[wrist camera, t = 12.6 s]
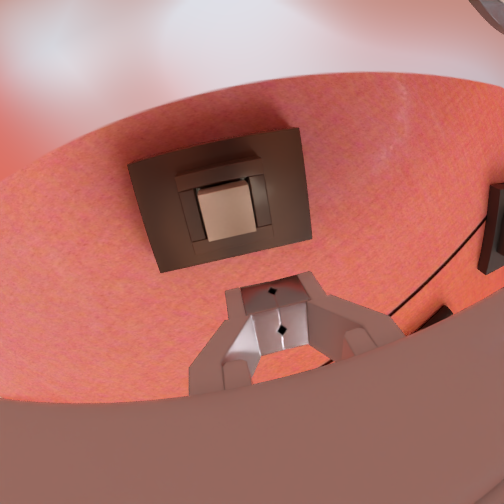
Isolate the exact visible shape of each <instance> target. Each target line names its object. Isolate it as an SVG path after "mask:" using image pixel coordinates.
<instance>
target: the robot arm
mask: <svg viewBox="0 0 504 504" xmlns="http://www.w3.org/2000/svg"><path fill="white" fill-rule="evenodd" d="M499 1H501V2H502V3H504V0H499ZM240 290H241V291H240ZM241 294H242V295H241ZM225 297H226V304H227V311H228V318H229V320H225V321H224V322H223V323H222V325H221V326H220V327H219V329H218V330H217V331H216V333H215V334H214V335H213V336H212V338H211V339H210V340H209V342H208V343H207V344H206V346H205V347H204V348H203V350H202V351H201V352H200V354H199V355H198V356H197V358H196V359H195V360H194V362H193V363H192V364H191V365H190V367H189V396H184V397H176V398H167V399H158V400H147V401H135V402H119V403H47V402H32V401H20V400H11V399H3V398H0V504H504V287H503V288H501V289H499V290H498V291H496V292H494V293H493V294H491V295H489V296H487V297H486V298H484V299H482V300H480V301H478V302H477V303H475V304H473V305H471V306H469V307H467V308H465V309H463V310H462V311H460V312H458V313H456V314H454V315H452V316H450V317H448V318H446V319H444V320H442V321H440V322H437V323H435V324H433V325H431V326H429V327H427V328H424V329H422V330H420V331H418V332H415V333H413V334H411V335H408V336H405V335H404V333H403V332H402V331H401V330H400V328H399V327H398V326H397V325H396V323H395V322H394V321H393V320H392V319H391V317H390V316H388V315H385V314H382V313H380V312H377V311H374V310H371V309H369V308H366V307H363V306H360V305H358V304H355V303H352V302H350V301H347V300H344V299H341V298H339V297H336V296H333V295H328V296H327V295H326V293H325V292H324V290H323V289H322V287H321V286H320V284H319V283H318V281H317V280H316V278H315V277H314V275H313V274H312V272H310V271H308V272H304V273H301V274H297V275H294V276H290V277H286V278H283V279H279V280H275V281H271V282H264V283H260V284H255V285H250V286H245V287H240V288H235V289H231V290H226V291H225ZM243 303H244V304H243ZM306 344H309V345H311V346H312V347H314V348H315V349H317V350H318V351H320V352H321V353H323V354H324V355H326V356H327V357H329V358H330V359H332V360H333V361H335V363H332V364H329V365H325V366H322V367H319V368H315V369H312V370H308V371H305V372H301V373H298V374H294V375H290V376H286V377H282V378H278V379H274V380H270V381H266V382H262V383H257V384H253V381H252V376H253V374H254V372H255V369H256V367H257V365H258V362H259V360H260V358H261V357H260V356H263V355H267V354H270V353H274V352H278V351H281V350H285V349H290V348H294V347H298V346H302V345H306Z"/></svg>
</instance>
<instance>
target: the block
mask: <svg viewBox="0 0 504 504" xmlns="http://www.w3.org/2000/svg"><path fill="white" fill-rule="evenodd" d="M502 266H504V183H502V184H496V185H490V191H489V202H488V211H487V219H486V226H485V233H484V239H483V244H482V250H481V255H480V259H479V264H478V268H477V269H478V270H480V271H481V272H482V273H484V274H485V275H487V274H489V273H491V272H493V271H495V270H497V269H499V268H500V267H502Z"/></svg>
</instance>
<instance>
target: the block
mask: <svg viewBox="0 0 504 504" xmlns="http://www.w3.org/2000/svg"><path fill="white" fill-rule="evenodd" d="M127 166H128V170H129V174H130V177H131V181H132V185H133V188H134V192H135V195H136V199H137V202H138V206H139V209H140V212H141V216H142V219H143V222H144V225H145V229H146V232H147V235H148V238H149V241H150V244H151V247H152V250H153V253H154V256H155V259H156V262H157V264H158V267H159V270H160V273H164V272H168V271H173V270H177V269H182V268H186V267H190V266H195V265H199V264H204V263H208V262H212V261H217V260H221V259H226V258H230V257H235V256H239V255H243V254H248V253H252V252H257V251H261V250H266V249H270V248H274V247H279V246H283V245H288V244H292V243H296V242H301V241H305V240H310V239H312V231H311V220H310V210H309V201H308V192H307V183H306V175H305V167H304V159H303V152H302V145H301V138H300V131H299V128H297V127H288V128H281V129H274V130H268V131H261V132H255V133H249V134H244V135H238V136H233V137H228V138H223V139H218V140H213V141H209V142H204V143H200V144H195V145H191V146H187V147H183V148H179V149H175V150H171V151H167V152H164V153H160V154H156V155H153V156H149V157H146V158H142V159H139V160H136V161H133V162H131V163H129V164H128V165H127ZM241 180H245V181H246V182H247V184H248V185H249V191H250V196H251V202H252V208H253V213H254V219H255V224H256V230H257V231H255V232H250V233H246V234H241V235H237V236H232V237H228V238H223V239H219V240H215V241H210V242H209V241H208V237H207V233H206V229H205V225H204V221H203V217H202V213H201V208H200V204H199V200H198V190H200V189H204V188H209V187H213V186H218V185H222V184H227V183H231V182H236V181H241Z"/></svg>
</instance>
